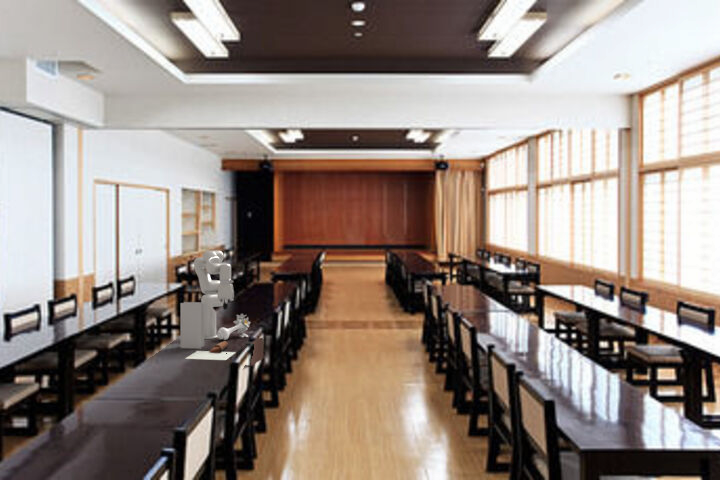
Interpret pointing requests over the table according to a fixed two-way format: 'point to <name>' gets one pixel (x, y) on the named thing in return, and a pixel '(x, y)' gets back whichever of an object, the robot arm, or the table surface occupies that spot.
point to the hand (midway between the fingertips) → (225, 309)
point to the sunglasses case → (219, 347)
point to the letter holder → (255, 351)
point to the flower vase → (234, 328)
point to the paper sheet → (210, 355)
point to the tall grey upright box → (192, 325)
